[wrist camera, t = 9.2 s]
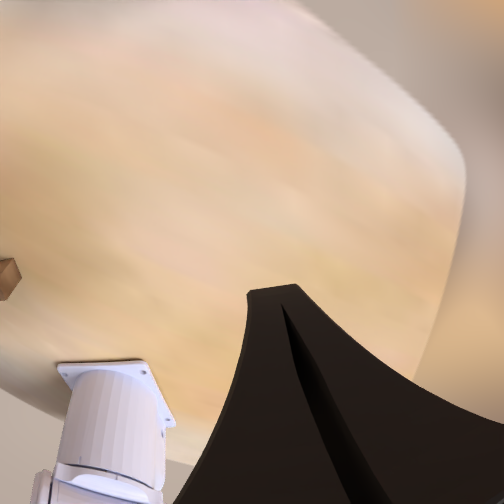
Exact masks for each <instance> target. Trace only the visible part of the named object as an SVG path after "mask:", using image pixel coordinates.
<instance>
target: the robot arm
mask: <svg viewBox="0 0 504 504" xmlns="http://www.w3.org/2000/svg"><path fill="white" fill-rule="evenodd" d="M247 303H248V311H247V321H246V328H245V334H244V339H243V344H242V349H241V353H240V357H239V360H238V364H237V367H236V371H235V374H234V378H233V381H232V384H231V387H230V390H229V393H228V396H227V398H226V401H225V404H224V406H223V409H222V411H221V414H220V416H219V418H218V421H217V423H216V425H215V427H214V430H213V432H212V434H211V436H210V438H209V441H208V443H207V445H206V447H205V449H204V451H203V453H202V455H201V457H200V458H199V460H198V462H197V464H196V465H195V467H194V469H193V471H192V472H191V474H190V476H189V478H188V479H187V481H186V483H185V485H184V486H183V488H182V490H181V491H180V493H179V495H178V496H177V498H176V499H175V501H174V502H173V504H504V424H501V423H498V422H495V421H492V420H489V419H486V418H483V417H481V416H479V415H476V414H474V413H471V412H469V411H467V410H464V409H462V408H460V407H458V406H455V405H454V404H451V403H449V402H448V401H446V400H444V399H442V398H440V397H438V396H436V395H434V394H432V393H430V392H429V391H427V390H425V389H423V388H421V387H419V386H418V385H416V384H414V383H413V382H411V381H410V380H408V379H406V378H405V377H403V376H402V375H400V374H399V373H397V372H396V371H394V370H393V369H392V368H390V367H389V366H387V365H386V364H384V363H383V362H382V361H380V360H379V359H378V358H376V357H375V356H374V355H373V354H371V353H370V352H369V351H368V350H366V349H365V348H364V347H363V346H361V345H360V344H359V343H358V342H356V341H355V340H354V339H353V338H352V337H351V336H349V335H348V334H347V333H346V332H345V331H344V330H343V329H342V328H341V327H340V326H338V325H337V324H336V323H335V322H334V321H333V320H332V319H331V318H330V317H329V316H328V315H327V314H326V313H325V312H324V311H323V310H322V309H321V308H320V307H319V306H318V305H317V304H316V303H315V302H314V301H313V300H312V299H311V298H310V297H309V296H308V295H307V294H306V293H305V292H304V291H303V290H302V289H301V288H300V287H299V286H298V285H297V284H289V285H283V286H276V287H269V288H262V289H255V290H250V291H249V292H248V293H247ZM57 370H58V372H59V373H60V375H61V376H62V378H63V379H64V381H65V382H66V383H67V385H68V386H69V388H70V389H71V390H72V395H71V399H70V403H69V407H68V411H67V415H66V419H65V423H64V428H63V432H62V437H61V441H60V446H59V451H58V456H57V461H56V465H55V467H54V470H53V473H52V476H51V471H48V470H46V469H44V470H43V471H42V472H38V473H36V474H35V479H34V484H33V489H32V495H31V501H30V504H166V503H163V492H161V489H162V487H163V485H164V481H165V441H166V428H168V427H175V426H176V421H175V419H174V417H173V415H172V414H171V412H170V410H169V408H168V406H167V404H166V402H165V400H164V398H163V396H162V394H161V392H160V389H159V387H158V385H157V383H156V381H155V379H154V377H153V375H152V373H151V370H150V368H149V366H148V364H147V363H146V362H145V361H142V360H138V361H122V362H101V363H61V364H58V366H57ZM143 370H144V371H143Z"/></svg>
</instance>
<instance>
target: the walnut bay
mask: <svg viewBox="0 0 504 504" xmlns="http://www.w3.org/2000/svg"><path fill="white" fill-rule="evenodd" d="M21 278H22V277H21V275H20V272H19V270H18V268H17V265H16V263H15V261H14V258H13V259H7V260H2V261H0V301H4V300H7V299H8V297H9V296H10V294H11V293H12V291H13V290H14V288H15V287H16V285H17V284H18V283H19V281H20V280H21Z"/></svg>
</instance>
